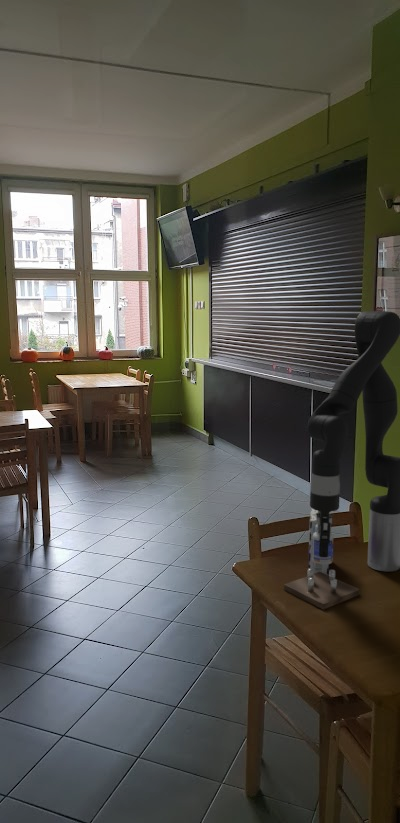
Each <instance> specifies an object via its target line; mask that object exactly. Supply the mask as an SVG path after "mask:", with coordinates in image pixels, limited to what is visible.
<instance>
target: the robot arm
mask: <svg viewBox="0 0 400 823" xmlns="http://www.w3.org/2000/svg"><path fill="white" fill-rule="evenodd" d="M399 337H400V316H399V315H398V314H397V313H396V312H394V311H385V310H378V311H377V310H367V311H365V310H364V311H361V312H360V313H359V314H358V315H357V317H356V319H355V321H354V340H355V344H356V351H357V355H358V357H357V359H356V360H354V362H352V363H351V364H350V365H349V366H347V367H346V369H344V370H343V371H342V372H341V374H340V375H339V376H338V378H337V379H336V382H335V383H334V384H333V387H332V389H331V391H330V393H329V395H327V397H326V398H325V399H324V400H323V401H322V402H321V404H319V406H317V408H316V409H315V410H314V412H312V414H311V415H310V417H309V419H308V422H307V424H306V425H307V428H306V429H307V433H308V436H309V437H310V439H311V438H312V439H313V440H315V441H321V442H324V443H325V446H324V449H317V450H315V451H314V452H313V453H312V460H311V462H312V464H311V478H310V489H309V491H310V493H309V496H310V497H309V507H310V509H311V508H312V509H314V510H318V513H316V520H317V533H318V534H319V556H320V557H328V544H329V542H330V534H332V523H333V516H332V513H331V512H336V511H337V510H339V509H340V495H341V494H340V492H341V478H340V476H341V473H340V472H341V471H340V468H341V458H342V456H343V455H342V454H343V451H344V448H345V445H346V441H347V439H348V436H349V426H348V423H347V420H345V418H344V417H342V416H340V415H342V414H348V413H350V412H352V411H353V409H354V408H355V406H356V404H357V401H358V400H359V398H360V396H361V394H362V408H363V409H362V410H363V418H364V419H363V420H364V427H365V428H364V431H365V434H364V435H365V455H364V456H365V459H364V460H365V461H364V462H365V464H364V466H365V470H364V471H365V476H366V480H367V482H368V483H369V484H371V485H373V486H378V487H381V488H387V493H386V494H384V495H378V496H375V497H372V498H371V500H370V501H369V518H368V520H369V523H368V539H367V540H368V543H367V544H368V545H367V562H366V564H367V566H368V567H370V568H371V569H373V570H376V571H379V572H396V571H398V570H400V457H398V456H391V455H389V454H388V455H386V454H384V451H383V450H384V449H383V444H384V443H383V442H384V439H385V436H386V434H387V432H388V431H389V429H390V428H391V427H392V426H393V424H394V422H395V419H396V418H397V416H398V412H399V411H398V392H397V389H396V386H395V384H394V382H393V380H392V379H391V377H390V375H389V373H388V372H387V370H386V369H385V367H384V366H383V363H382V362H383V361H384V360H385V358H386V357H387V355H388V354H389V353H390V351H391V350H392V348H393V347H394V345H395V344H396V343H397V341H398V339H399ZM329 512H330V514H329ZM322 536H327V539H322Z"/></svg>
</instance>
